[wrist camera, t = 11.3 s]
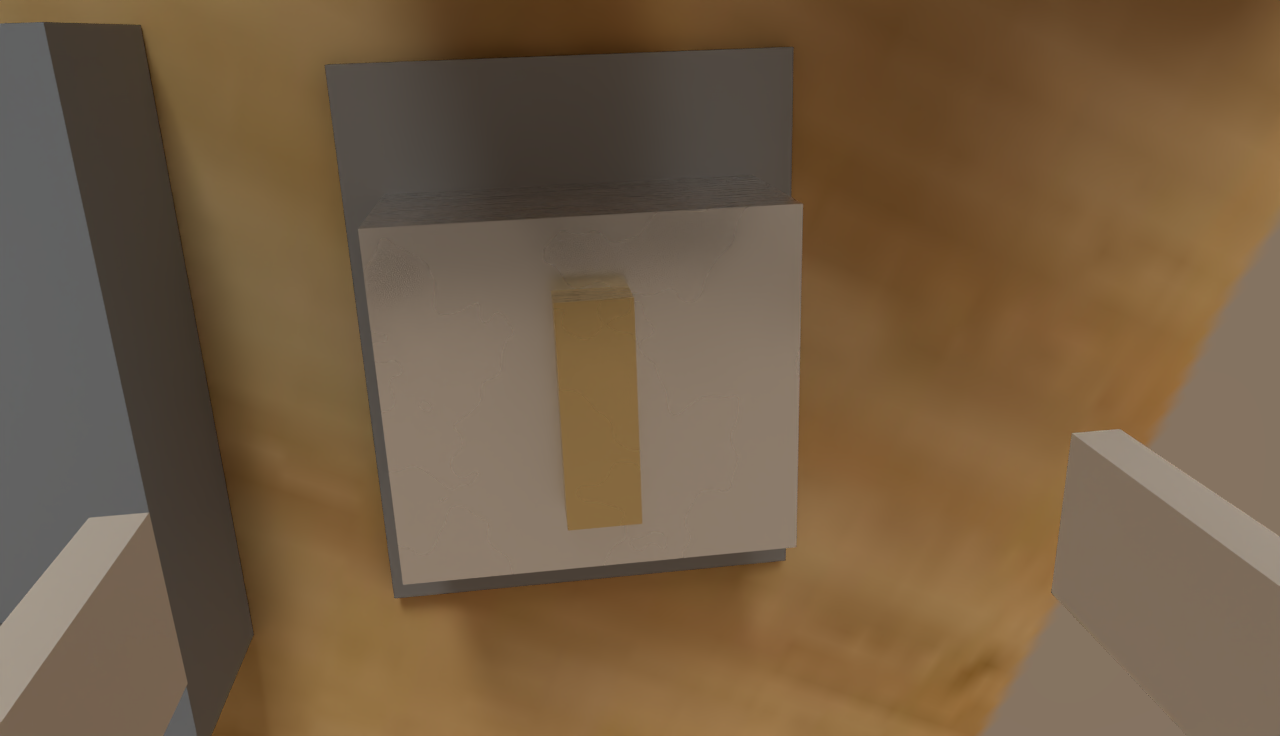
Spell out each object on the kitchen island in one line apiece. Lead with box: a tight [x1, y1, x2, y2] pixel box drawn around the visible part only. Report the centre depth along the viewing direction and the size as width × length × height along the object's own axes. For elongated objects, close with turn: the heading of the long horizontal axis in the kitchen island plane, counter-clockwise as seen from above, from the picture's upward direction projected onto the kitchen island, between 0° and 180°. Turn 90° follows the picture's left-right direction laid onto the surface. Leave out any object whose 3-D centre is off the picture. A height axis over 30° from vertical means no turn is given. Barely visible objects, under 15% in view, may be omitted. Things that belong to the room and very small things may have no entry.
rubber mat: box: [325, 47, 794, 598], centre depth 26 cm, size 14×11×1 cm
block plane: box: [0, 22, 254, 736], centre depth 22 cm, size 16×6×6 cm, turn 2°
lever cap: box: [358, 175, 803, 585], centre depth 23 cm, size 8×9×6 cm
